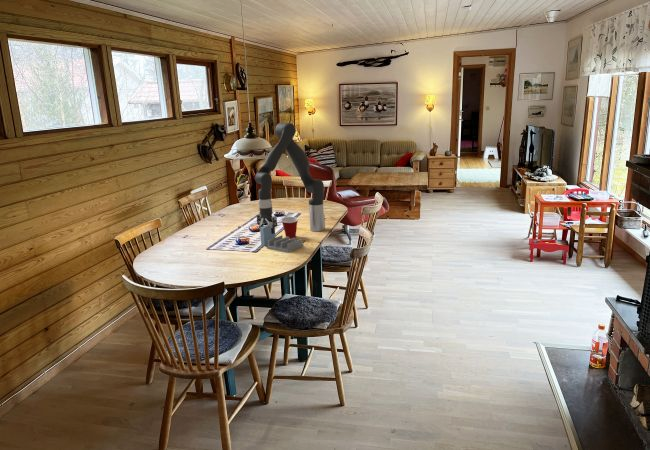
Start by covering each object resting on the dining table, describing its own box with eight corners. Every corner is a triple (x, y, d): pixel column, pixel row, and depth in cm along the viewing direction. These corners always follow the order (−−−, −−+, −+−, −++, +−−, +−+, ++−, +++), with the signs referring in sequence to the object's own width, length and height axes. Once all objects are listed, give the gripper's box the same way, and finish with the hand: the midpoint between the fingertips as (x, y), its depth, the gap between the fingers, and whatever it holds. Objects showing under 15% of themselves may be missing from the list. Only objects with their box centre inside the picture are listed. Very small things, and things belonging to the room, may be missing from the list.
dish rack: (282, 242, 285) (282, 235, 284) (303, 245, 276) (303, 238, 275) (266, 248, 274) (266, 241, 273) (287, 252, 265) (287, 244, 264)
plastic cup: (284, 240, 287) (282, 221, 284) (280, 236, 298) (279, 217, 295) (301, 238, 290) (300, 219, 287) (297, 234, 300) (296, 216, 297)
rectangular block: (272, 241, 288) (271, 223, 286) (275, 241, 287) (274, 224, 284) (261, 245, 281) (259, 227, 278) (264, 246, 279) (263, 228, 276)
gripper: (278, 206, 277) (280, 232, 281) (261, 204, 285) (263, 229, 289) (270, 208, 271) (272, 235, 275) (252, 206, 279) (254, 232, 283)
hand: (267, 232), depth 282 cm, fingers open, 8 cm apart
